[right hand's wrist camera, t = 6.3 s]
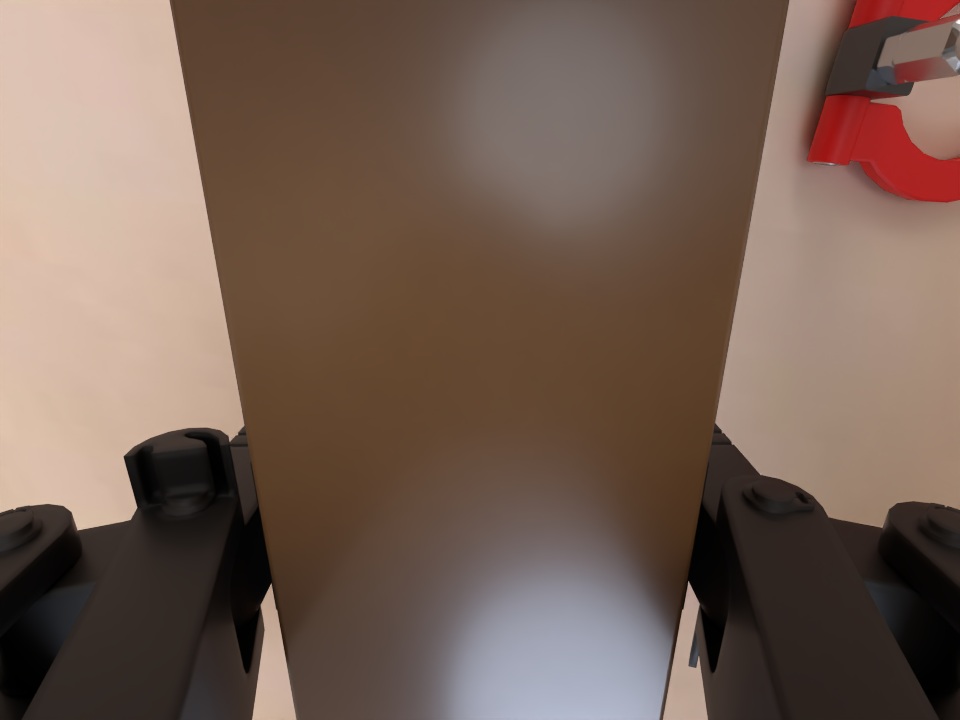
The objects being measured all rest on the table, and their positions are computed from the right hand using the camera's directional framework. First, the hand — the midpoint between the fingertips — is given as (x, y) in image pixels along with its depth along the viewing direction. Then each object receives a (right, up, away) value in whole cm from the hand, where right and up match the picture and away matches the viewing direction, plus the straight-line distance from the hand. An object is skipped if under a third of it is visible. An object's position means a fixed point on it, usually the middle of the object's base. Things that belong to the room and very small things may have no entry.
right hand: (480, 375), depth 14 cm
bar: (0, +7, -2) cm, 7 cm away
